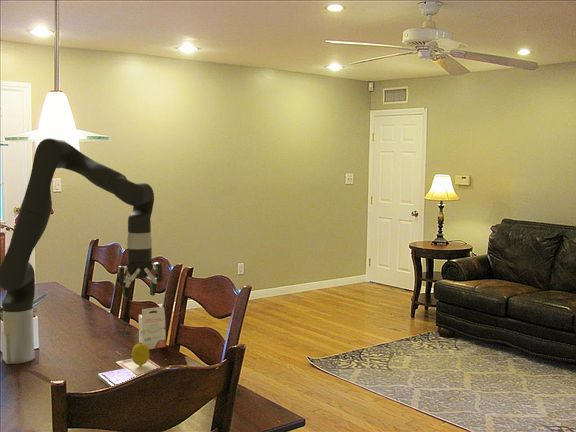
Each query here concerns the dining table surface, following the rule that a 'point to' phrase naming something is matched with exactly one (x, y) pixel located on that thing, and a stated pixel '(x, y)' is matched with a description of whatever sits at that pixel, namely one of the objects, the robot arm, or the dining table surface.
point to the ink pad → (116, 376)
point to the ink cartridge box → (152, 328)
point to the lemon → (140, 354)
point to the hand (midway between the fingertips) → (140, 296)
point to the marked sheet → (137, 366)
